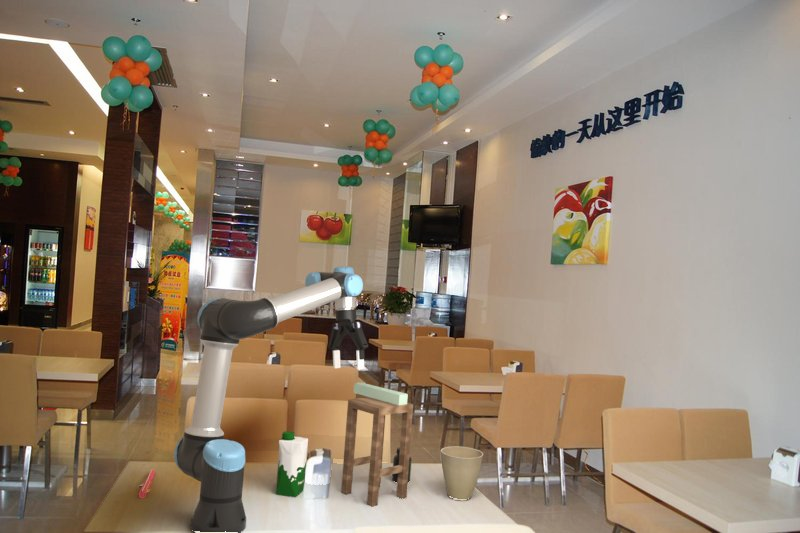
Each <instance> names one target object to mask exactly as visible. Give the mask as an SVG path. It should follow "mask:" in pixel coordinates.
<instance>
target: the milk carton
mask: <svg viewBox="0 0 800 533" xmlns="http://www.w3.org/2000/svg"><path fill="white" fill-rule="evenodd" d="M281 436H282V437H281V438H280V439H279V440H278V460H277V461H278V463H277V475H276V487H275V488H276V490H275V495H276V494H277V496H284V497H290V496H291V498H297V497H298V496H299V495H300V494H301V493H303V492H304V487H305V479H306V470H307V457H308V455H307V454H308V448H309V447H308V445H309V444H308V443H309V438H307V437H302V436H295V432H294V431H290V430H289V431H288V430H286V431H283V432H282V434H281Z"/></svg>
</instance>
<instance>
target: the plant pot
mask: <svg viewBox="0 0 800 533" xmlns="http://www.w3.org/2000/svg"><path fill="white" fill-rule="evenodd" d="M483 457H484V452H482V451H481V450H479V449H476V448H473V447H468V446H445V447H443V448H441V449H440V459H441V468H442V473H443V479H444V483H445V487H446V491H447V494H448V497H449V496H451V497H453V498H457V499H468V498H470V499H471V497H472V495H473V493H474V490H475V487H476V485H477V481H478V479H479V474H480V472H481V467H482V463H483Z"/></svg>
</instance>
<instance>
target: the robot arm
mask: <svg viewBox="0 0 800 533" xmlns="http://www.w3.org/2000/svg"><path fill="white" fill-rule="evenodd" d="M363 288H364V282H363V279H362V277H361V276H360V275H358V274H356V273H355V269H354V268H353V267H352V266H339V267H338V266H337V267H334V268H333V272H327V271H326V272H325V271H324V272H323V271H312V272H309V273H308V274H307V275H306V278H305V285H304V286H303V287H301V288H298V289H295V290H293V291H290V292H287V293H284V294H282V295H278V296H275V297H272V298H270V299H269V298H267V297H262V298H260V299H256V300H237V299H231V298H230V299H229V298H225V297H218V298H212V299H209V300H208V301H206V302H205V303H204V304H203V305H202V306H201V307H200V308H199V311H198V313H197V316H196V318H197V325H198V327H199V329H200V331H201V333H200V337H199V340H200V342H201V343H202V345H203V353H202V358H201V363H200V370H199V375H198V381H197V388H196V394H195V399H194V405H193V411H192V418H191V423H190V425H189V426H188V427H186V428H185V429H184V431H183V436H182V437H181V439H180V440H178V441H177V443H176V445H175V447H174V451H173V460H174V462H175V464H176V466H177V468H178V469H179V470H180V471H181V472H182V473H183V474H185V475H186V476H190V477H192V478H193V479H195V480H197V481H199V482H200V490H199V492H200V493H199V499H198V503H197V505H196V507H195V510H194V513H193V515H192V517H191V522H190V530H191V531H192V530H193V531H200V532H225V531H226V532H240V531H242V532H243V531H244V530H245V529H246V527H247V516H246V511H245V507H244V503H243V487H244V476H245V466H246V448H245V447H244V446H243V445H242V444H241V443H239V442H237V441H234V440H229V439H224V436H225V432H224V431H223V430H222V428H221V423H222V419H223V418H222V417H223V411H224V405H225V398H226V392H227V387H228V380H229V374H230V368H231V362H232V357H233V351H234V349H235V348H237V347H238V346H239V344H240V340H243V339H247V338H252V337H254V336H257V335H259V334H262V333H265V332H266V331H267V332H268V331H271V330H272V329H274V328H276V327H277V326H278V324H279V323H281V322H283V321H285V320H288V319H291V318H294V317H296V316H299V315H301V314H304V313H306V312H309V311H311V310H315V309H317V308H320V307H321V306H325V305H327V304H329V303H332V302H334V309H336V311H335V320H336V321H338V322H337V323H332V325H331V326H332V328H331V333H330V337H329V342H328V345H327V348H328V349H329V350H331V354H332V356H331V357H332V361H333V362H332V363H333V365H332V366H333V369H341V368H342V367H341V350H340V346H341V344H342V342H343V340H344V337H346V336H349V337H350V338H351V340H352V342H353V344H354V345H355V347H356V351H355V352H356V355H355V356H356V370H364V369H365V357H366V356H365V350H366V349H368V348H369V344H368V341H367V338H366V336H365V333H364V331H363V330H364V329H363V328H362V322H361V321H356V320H357V310H356V308H357V305H356V304H357V302H356V297H357V296H359V295H360V294H361V293H362V292H363ZM240 533H241V532H240Z"/></svg>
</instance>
